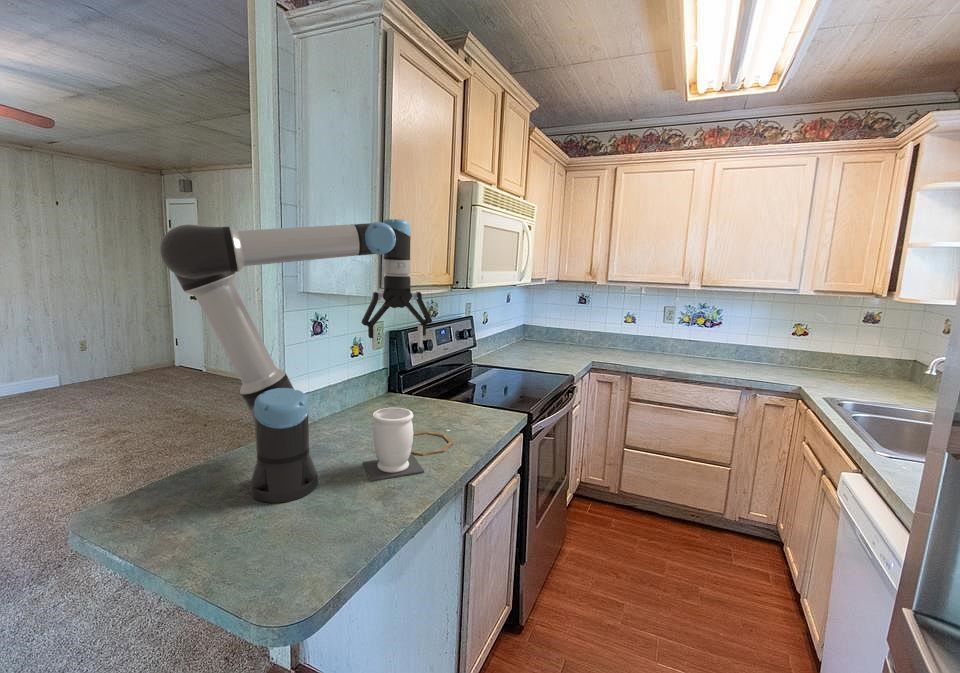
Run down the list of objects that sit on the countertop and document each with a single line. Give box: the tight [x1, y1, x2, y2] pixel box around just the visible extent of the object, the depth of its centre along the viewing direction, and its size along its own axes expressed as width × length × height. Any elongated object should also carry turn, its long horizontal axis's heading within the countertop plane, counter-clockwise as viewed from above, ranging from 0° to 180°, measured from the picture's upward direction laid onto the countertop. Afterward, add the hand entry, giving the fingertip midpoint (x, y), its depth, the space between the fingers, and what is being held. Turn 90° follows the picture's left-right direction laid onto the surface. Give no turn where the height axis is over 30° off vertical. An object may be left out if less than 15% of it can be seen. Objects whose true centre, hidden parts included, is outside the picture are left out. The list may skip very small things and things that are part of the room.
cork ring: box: [410, 430, 454, 456], centre depth 140 cm, size 16×16×1 cm
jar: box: [372, 407, 414, 473], centre depth 122 cm, size 11×10×15 cm
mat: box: [362, 453, 425, 482], centre depth 123 cm, size 14×11×1 cm
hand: (397, 347), depth 134 cm, fingers open, 13 cm apart
